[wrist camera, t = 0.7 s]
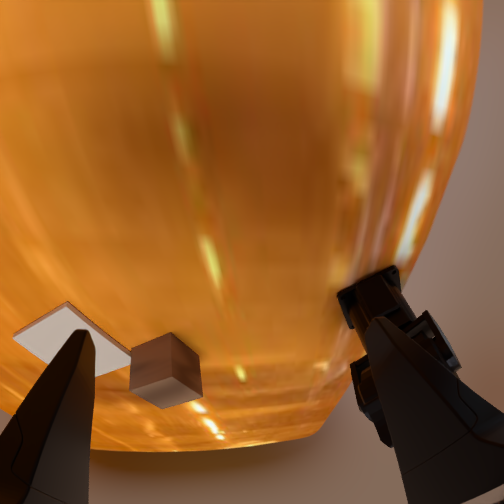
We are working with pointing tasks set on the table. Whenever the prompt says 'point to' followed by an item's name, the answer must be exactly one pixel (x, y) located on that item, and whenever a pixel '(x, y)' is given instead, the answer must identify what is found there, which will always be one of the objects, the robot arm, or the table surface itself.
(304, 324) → the table surface
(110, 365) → the stone coaster
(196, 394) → the walnut cube
